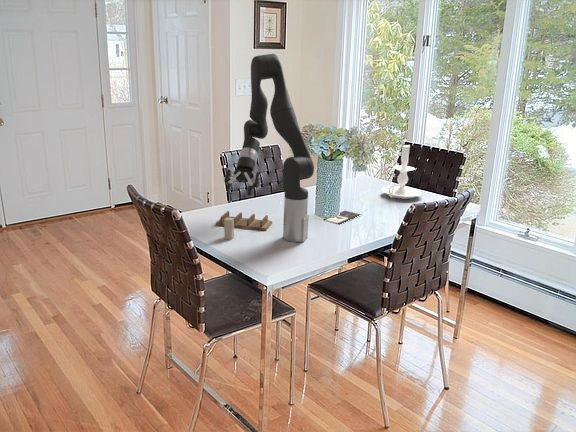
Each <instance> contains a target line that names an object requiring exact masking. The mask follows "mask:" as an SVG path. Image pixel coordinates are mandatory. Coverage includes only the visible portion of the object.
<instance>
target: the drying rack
mask: <svg viewBox="0 0 576 432" xmlns="http://www.w3.org/2000/svg"><path fill="white" fill-rule="evenodd" d="M226 218H234V228H236V229H244V230H256V231H264V232H267V231H268V230H269V228H270V227H271V226H272V224H273V221H272V220H268V218H269V216H268V215H267V214H266V215H265V216H264V217H263V218H262V219H256V214H255V213H253V214H251V215H250V216H249V217H248V218H247V217H243V212H239V213H238V214H237V215H236V216H230V210H227V211H226V212H225V213H224V214H222V215H221V216H220V219H218V220H217V221H216V222H215V226H221V227H224V220H225V219H226Z"/></svg>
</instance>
